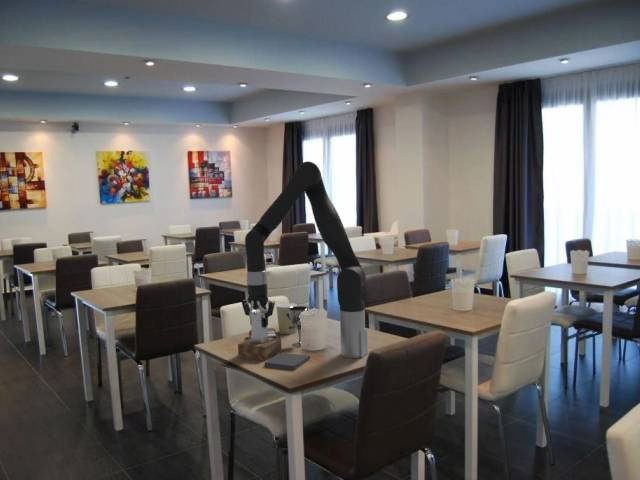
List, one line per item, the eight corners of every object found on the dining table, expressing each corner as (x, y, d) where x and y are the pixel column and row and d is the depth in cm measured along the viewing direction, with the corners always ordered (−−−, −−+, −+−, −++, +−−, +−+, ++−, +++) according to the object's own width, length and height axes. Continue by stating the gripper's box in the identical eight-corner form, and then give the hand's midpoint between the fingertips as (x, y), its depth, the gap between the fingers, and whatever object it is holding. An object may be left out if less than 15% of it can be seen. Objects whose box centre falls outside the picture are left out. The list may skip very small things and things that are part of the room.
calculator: (274, 327, 232) (276, 334, 217) (274, 337, 232) (277, 344, 218) (249, 329, 231) (249, 336, 216) (249, 338, 231) (250, 347, 216)
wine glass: (300, 340, 222) (299, 305, 220) (314, 344, 216) (312, 307, 214) (286, 345, 216) (284, 308, 215) (299, 348, 210) (298, 311, 209)
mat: (309, 359, 196) (309, 355, 196) (294, 370, 186) (294, 366, 185) (280, 356, 201) (280, 352, 201) (264, 366, 191) (264, 362, 190)
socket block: (281, 351, 208) (281, 338, 208) (265, 360, 197) (265, 347, 197) (255, 348, 213) (254, 335, 213) (238, 357, 202) (237, 344, 202)
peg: (268, 343, 206) (266, 312, 205) (262, 346, 202) (260, 314, 201) (258, 342, 208) (256, 311, 206) (252, 345, 204) (250, 314, 203)
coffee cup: (290, 335, 230) (289, 308, 229) (273, 333, 235) (272, 306, 234) (302, 330, 238) (301, 303, 236) (285, 328, 243) (284, 302, 242)
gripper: (278, 281, 203) (280, 325, 205) (246, 280, 209) (248, 323, 210) (268, 285, 196) (270, 330, 198) (235, 283, 202) (238, 327, 204)
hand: (259, 326), depth 204 cm, fingers closed on peg, 4 cm apart
